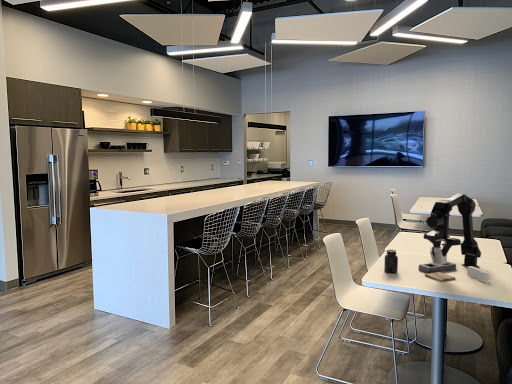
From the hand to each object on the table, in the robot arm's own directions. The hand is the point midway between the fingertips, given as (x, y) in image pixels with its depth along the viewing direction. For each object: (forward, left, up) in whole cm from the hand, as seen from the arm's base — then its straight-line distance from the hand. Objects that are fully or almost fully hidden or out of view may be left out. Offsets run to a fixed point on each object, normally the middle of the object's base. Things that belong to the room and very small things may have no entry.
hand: (440, 255), depth 196 cm
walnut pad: (0, 0, -12) cm, 12 cm away
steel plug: (0, 0, -4) cm, 4 cm away
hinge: (-25, -25, -12) cm, 37 cm away
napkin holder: (-16, +9, -12) cm, 22 cm away
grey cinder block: (-10, -11, -12) cm, 19 cm away
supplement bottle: (+17, -17, -12) cm, 27 cm away
